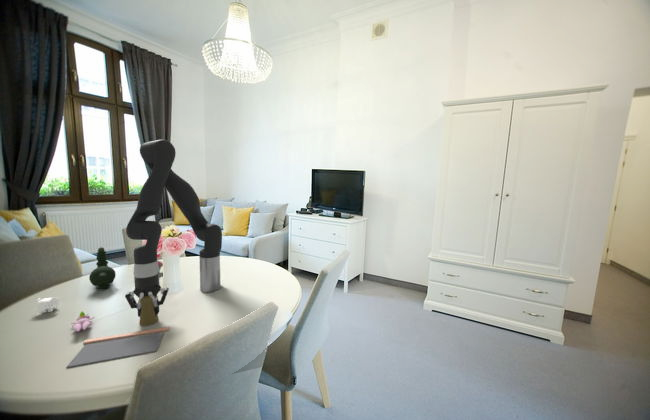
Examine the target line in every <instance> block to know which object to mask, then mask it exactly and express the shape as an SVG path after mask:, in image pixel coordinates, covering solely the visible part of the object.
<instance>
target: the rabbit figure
mask: <svg viewBox="0 0 650 420" xmlns="http://www.w3.org/2000/svg"><path fill="white" fill-rule="evenodd" d="M93 319H95V316H93V317H91V316H90V315H89V313H87V314H86V313H85V312H84V311H83V310H82V311H80V313H79V316H77V319H76V322H73V321H72V322H70V324H71V325H72V328H73V329H74V330H75V331H76V332H80V331H81V330H83V331H84V330H86V329H87V328H88V327H89V326H90V325H91V324H92V323H93Z"/></svg>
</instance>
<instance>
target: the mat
mask: <svg viewBox="0 0 650 420" xmlns="http://www.w3.org/2000/svg"><path fill="white" fill-rule="evenodd" d="M164 334H165V331H163V332H156V333H150V334H144V335H138V336H131V337H125V338H119V339H113V340H106V341H100V342H94V343H88V344H84V345H83V347H82V348H81V349H80V350H79V352H78V353H77V354H76V355H75V356H74V357H73V359H71V361H69V363H68V364H67V366H66V369H68V368H74V367H80V366H84V365H91V364H96V363H101V362H106V361H107V362H108V361H113V360H117V359H124V358H129V357H134V356H139V355H144V354H146V355H147V354H149V353H156V352H157V351H158V349H159V347H160V344H161V341H162V339H163V337H164Z"/></svg>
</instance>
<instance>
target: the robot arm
mask: <svg viewBox="0 0 650 420" xmlns="http://www.w3.org/2000/svg"><path fill="white" fill-rule="evenodd" d="M139 154H140V157H141V158H142V160H143V162H144V163H145V164H146V165H147V167H148V168H149V169H150V170H151V172H150V174H149V176H148V177H147V179H146V181H145V183H144V184H143V185H142V188H141V189H140V192H139V195H138V200H137V206H136V208H135V210H134V212H133V214H132V216H131V218H130V219H129V221H128V223H127V226H126V229H125V233H126V236H127V237H128V238H129V239H131V240H134V241H135V240H137V241H139V240H140V241H141V240H143V241H146V243H145V244H144V245H143V244H142V245H139V246H136V247H134V249H133V263H134V265H133V279H134V281H133V282H134V290H132V291H128V292H126V294H125V295H124V297H125V299H126V301H127V303H128V305H129V306H130V309H137V316H138V318H140V315H141V305H142V304H141V303H140V300H141V299H142V298H143V297H144V296H150V297H151V298H152V299H153V301H152V302H153V305H154V312H155V316H157V314H158V315H159V313H160V306H162V305H163V304H164V303H165V300H166V297H167V295H168V293H169V290H170V288H169V287H162V286H161V285H160V272H159V267H158V261H159V260H158V246H159V243H160V240H161V235H162V232H163V231H162V229H163V228H162V226H161V224H160V222H158V221H157V220H147V219H148V218H149V217H152V216H153V217H154V216H156V215H158V214H159V213H160V209H161V204H162V199H163V192H164V189H165V190H166V191H167V192H168V194H169V195H170V198H171V199H172V200H173V202H174V203H175V204H176V206H177V208H178V209H179V210H180V212H181V213H182V214H183V216H184V217H185V219H186V220H187V221H188V224H189V225H190V227H191V230H192V231H193V233H194V235H195V237H196V238H197V239H198V240H199V241H201V242H204V245H203V248H201V249H200V250H199V287H200V288H199V290H200V292H202V293H213V292H216V291H220V290H221V250H222V244H223V232H222V228H221V226H219V225H218V224H215V223H210V222H208V220H207V219H206V218H205V216H204V214H203V213H202V210H201V202H200V199H199V196H198V195H197V193H196V192H195V189H194V188H193V186H192V184H190V183H188V182H187V180H185V179H183V178H182V177H181V176H180V175H178V174H177V173H176V172H175V171H174V170H172V167H173V164H174V162H175V158H176V154H177V153H176V147H175V146H174V145H173V143H172V142H171V141H169V140H167V139H157V140H151V141H148V142H147V141H146V142H144V143H142V144H141V145H140V147H139ZM158 293H160V294H161V298H160V300H159V296H158ZM134 296H136V298H138V299H137V300H136V298H135V297H134ZM155 296H156V298H155ZM137 301H138V302H137Z"/></svg>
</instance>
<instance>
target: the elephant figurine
mask: <svg viewBox="0 0 650 420" xmlns="http://www.w3.org/2000/svg"><path fill="white" fill-rule="evenodd" d="M59 302H60V299H59V298H58V297H56V296H53V297H46V298H42V297H39V298H37V300H36V301H35V303H34V305H35V306H36V312H38V313H40V314H44V313H46V312H48V313H51V312H53V310H57V309H58V305H59Z"/></svg>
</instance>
